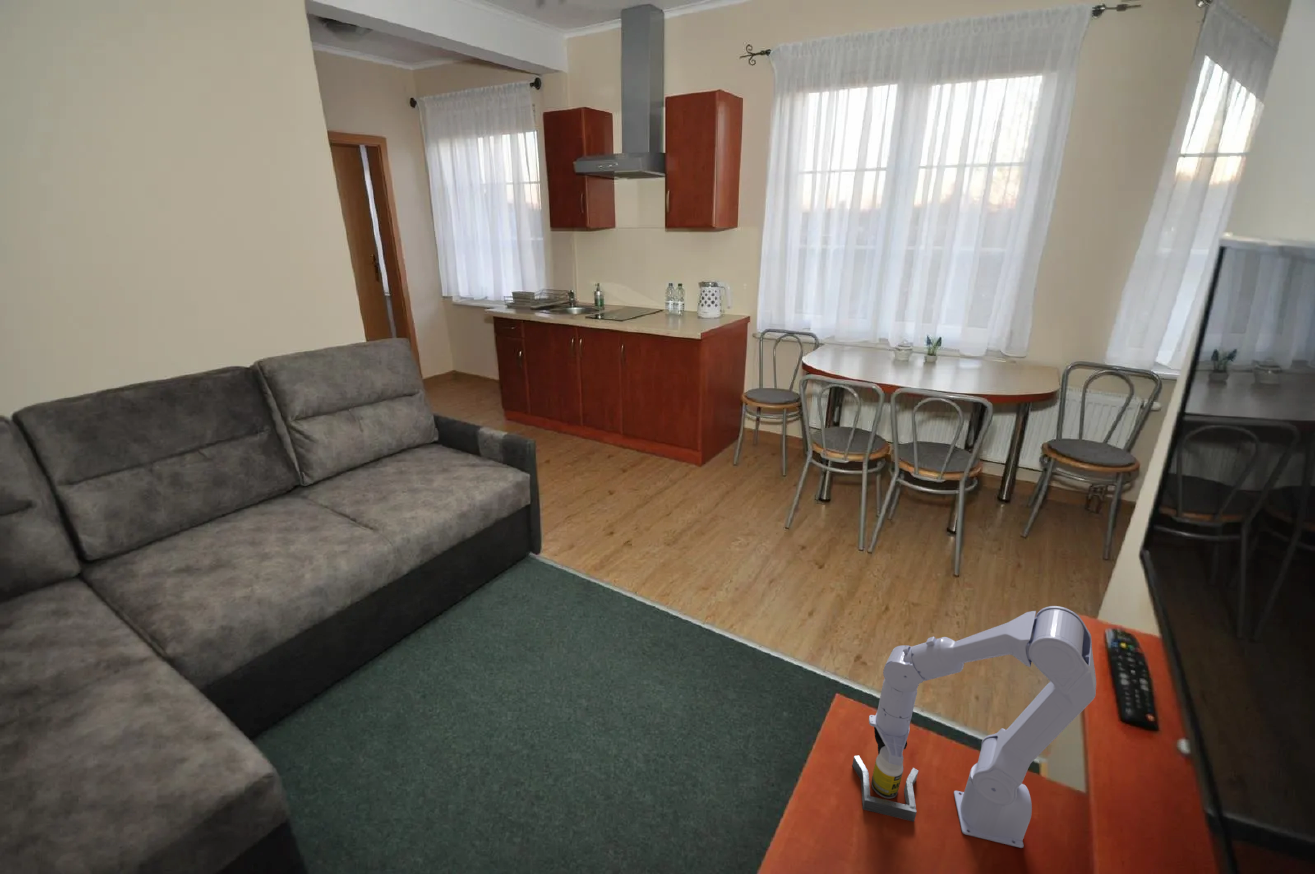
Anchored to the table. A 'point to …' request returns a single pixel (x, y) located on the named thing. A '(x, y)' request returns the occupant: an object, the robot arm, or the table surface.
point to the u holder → (883, 805)
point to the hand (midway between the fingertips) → (884, 758)
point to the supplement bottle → (886, 775)
